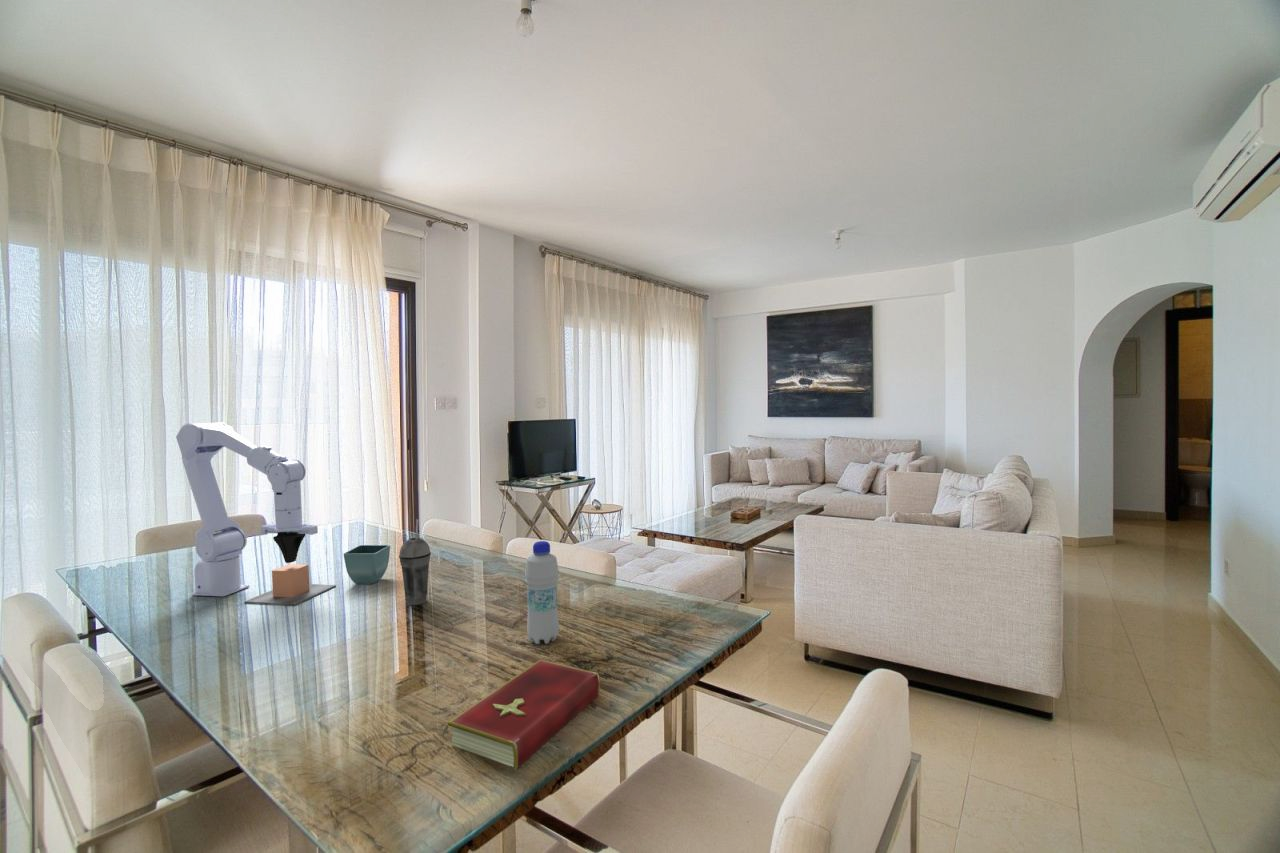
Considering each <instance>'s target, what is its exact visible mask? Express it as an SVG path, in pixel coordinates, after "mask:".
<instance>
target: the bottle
mask: <svg viewBox="0 0 1280 853" xmlns="http://www.w3.org/2000/svg"><path fill="white" fill-rule="evenodd" d="M532 553H533V554H532V555H530V556H528V557H527V558H526V559H525V560H526V562H525V571H524V576H525V580H524V581H525V584H526V587H527V589H526V594H527V595H526V596H527V597H526V600H527V621H526V622H527V623H526V632H527V636H528V640H529V642H531V643H534V644H536V645H539V644H541V640H543V642H544V644H545V645H548V644H549V643H550V641H551V642H554V641H555V640H556V639H557V638H558V634H559V631H560V623H559V622H560V621H559V612H558V610H559V609H558V581H559V574H560V573H559V567H558V561H557V560H558V558H557V557H556V555H554V554H552V553H551V545H550V543H549V541H546V540H540V541H536V542H535V543H534V544H533V545H532Z"/></svg>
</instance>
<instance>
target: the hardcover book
mask: <svg viewBox="0 0 1280 853" xmlns="http://www.w3.org/2000/svg"><path fill="white" fill-rule="evenodd" d="M600 679H601V678H600V676H599V672H596V671H591V670H587V669H582V668H578V667H574V666H569V665H567V664H566V665H565V664H561V663H558V662H553V661H549V660H545V659H541V658H540V659H539V660H537V661H536V662H534V663H533V664H531V665H530V666H528V667H527V668H526V669H524V670H522V671H520V673H518V674H516V675H515V676H513V677H512V678H510V679H509V680H508V681H506V682H505V683H503V684H502V685H500V686H498V688H496V689H495V690H493V691H491V692H490V693H488V694H487V695H485V696H484V697H483V698H482V699H480V700H478V701H477V702H475V703H474V704H473V705H471V706H470V707H468V708H466V709H465V710H464V711H462V712H461V713H459V714H458V715H456V716H455V717H453V718H451V719H450V720H449V721H447V726H450V727H451V735H452V736H451V738H452V741H451V742H452V746H453V747H456V748H459V749H462V750H464V751H467V752H470V753H473V754H475V755H477V756H481V757H483V758H487V759H489V760H492V761H495V762H497V763H500V764H503V765H505V766H508V767H511V766H512V770H513V771H516V770H518V769H519V768H520V767H521V766H522V765H523V764H524V763H525V762H527V761H528V760H529V759H530V758H531V757H532V756H533V755H534V754H536V753H537V752H538V751H539V750H540V748H543V746H544V745H545V744H546V743H548V742H549V741H550V740H552V738H553V737H555V735H556V734H557V733H559V732H560V731H561V730H562V729H563V728H564V727H565V726H566V725H567V724H568V723H570V722H571V721H572V719H574V718H576V716H577V715H578V714H580V713H581V712H582V711H583V710H584V709H585V708H587V706H588V705H589V704H591V703H592V701H594V700H595V699H596V698H597V697H598V696H599V695H600V692H601V680H600ZM519 766H520V767H519ZM518 767H519V768H518ZM517 768H518V769H517Z"/></svg>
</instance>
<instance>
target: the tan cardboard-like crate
mask: <svg viewBox="0 0 1280 853" xmlns="http://www.w3.org/2000/svg"><path fill="white" fill-rule="evenodd" d="M309 567H310V566H309V564H302V563H301V564H299V563H298V564H296V563H287V564H285V565H283V566H281V567H277V568H275V569H272V570H271V580H272V582H271V584H272V590H273V597H295V596H297V595H299V594H302V593H304V592H306V591H308V590H310V588H309V584H310V571H309V570H310V568H309Z"/></svg>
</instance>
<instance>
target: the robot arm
mask: <svg viewBox="0 0 1280 853" xmlns="http://www.w3.org/2000/svg"><path fill="white" fill-rule="evenodd" d="M175 439H176V441H177V444H178V446H179V450H180V454H181V460H182V464H183V467H184V470H185V474H186V476H187V480H188V483H189V486H190V490H191V492H192V496H193V499H194V501H195V505H196V508H197V511H198V514H199V517H200V521H201V524H202V525H201V526H200V527H199V529H198V530H197V531H196V532H195V533H194V537H195V551H196V554H197V556H198V557H199V558H200V559H199V561H197V563H196V564H195V566H194V572H193V573H194V589H195V590H194V592H192V594H191V595H192V596H203V597H204V596H206V597H226V596H228V595H231V594H234V593H237V592H239V591H242V590H244V589H248V588H249V587H250V584H242V580H241V562H240V561H241V560H240V555H242V554H243V553H242V552H243V551H242V550H244V549H245V547H246V545H247V542H248V541H247V536H246V534H245V532H244V531H243V530H242V528H241V527H240V524H239V522H237V521H236V520H233V519H232V518H230V517H229V516H228V513H227V509H226V507H225V503H224V500H223V498H222V494H221V490H220V488H219V484H218V482H217V479H216V478H217V477H216V475H215V471H214V469H213V465H212V462H211V460H212V458H213V457H214V456H216V455H217V454H218V453H219V452H220V451H221V450H222V449H224V448H226V449H228V450H231V451H232V452H234V453H236V454H239V455H240V456H242V457H244V458H246V462H247V464H248V465H249V466H251V467H252V468H254V469H256V470H257V471H259V472H260V473H262V474H264V475H266V477H267V480H268V482H269V483H270V484H271V490H272V491H273V496H274V498H273V500H274V515H275V516H274V518H275V524H273V523H272V524H264V525H261V526H260V533H261V535H263V534H264V535H265V534H276V535H275V536H273V537H272V538H273V539H272V540H273V541H274V542H275V543H276V544H277V546H278V548H279V549H280V551H281V554H282V556H283V560H284V563H285V564H292V563H294V562H297V556H298V553H299V550H300V546H301V544H302V542H303V540H304V538H305V536H306V535H309V536H313V535H316V534H318V531H319V530H318V525H311V524H307V523H303V512H302V510H303V509H302V489H301V486H302V485H301V481H303V479H304V478H305V476H306V468H305V465H304V464H303V463H302V462H301V461H300V459H299V460H298V459H291V460H290V459H287V456H285V455H281V454H279V453H277V452H275V451H274V450H273V447H271V446H270V445H258V446H257V445H255V444H253V443H252V442H250V441H249V440H248V439H246V438H244V437H243V436H242V435H240V434H239V433H237V432H236V431H235V430H234V427H233V426H230V425H228V424H227V423H225V422H221V421H218V422H207V423H204V422H203V423H191V422H189V423H186V424H185V423H184V424H183V425H182V426H181V427H180V429H179V431H178V433H177V434H176V436H175Z"/></svg>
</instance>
